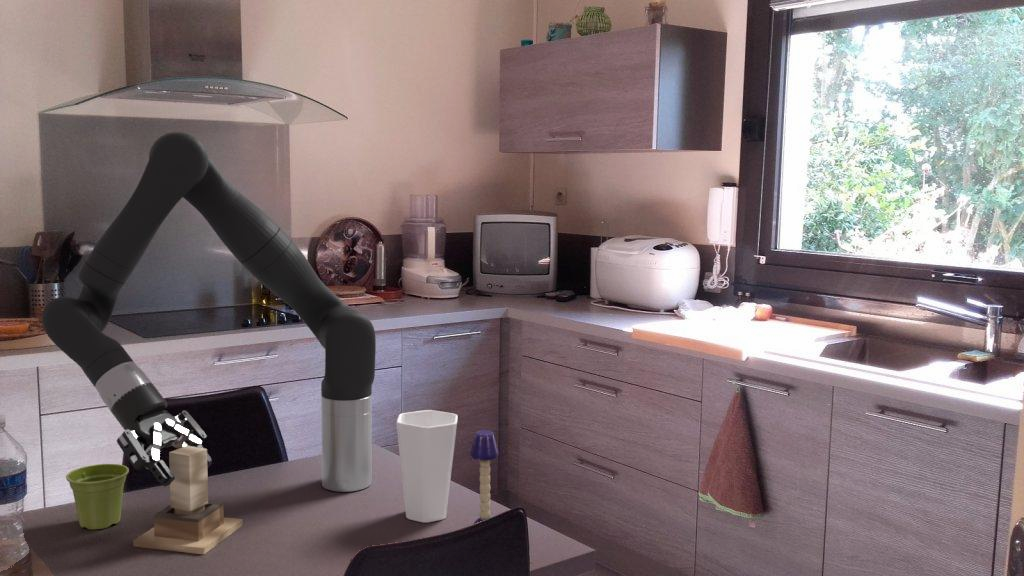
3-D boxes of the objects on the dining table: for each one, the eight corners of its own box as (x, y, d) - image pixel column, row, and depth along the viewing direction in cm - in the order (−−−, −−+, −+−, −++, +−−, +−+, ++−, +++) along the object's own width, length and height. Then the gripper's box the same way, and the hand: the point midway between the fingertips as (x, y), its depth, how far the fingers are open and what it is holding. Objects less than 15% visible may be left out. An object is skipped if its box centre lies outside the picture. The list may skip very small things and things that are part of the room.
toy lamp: (493, 536, 146) (495, 437, 144) (466, 534, 147) (467, 434, 145) (500, 525, 151) (502, 429, 149) (473, 523, 152) (474, 426, 150)
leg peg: (189, 522, 147) (187, 445, 145) (208, 526, 145) (206, 448, 144) (171, 531, 143) (169, 452, 142) (191, 535, 142) (189, 455, 140)
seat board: (177, 518, 151) (176, 492, 151) (242, 525, 149) (242, 498, 148) (133, 546, 140) (132, 518, 139) (204, 554, 137) (203, 526, 137)
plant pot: (65, 537, 143) (63, 484, 142) (70, 516, 151) (68, 466, 150) (129, 530, 146) (128, 478, 145) (131, 510, 155) (129, 461, 154)
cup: (469, 511, 157) (471, 416, 155) (437, 531, 148) (439, 430, 146) (416, 499, 162) (417, 407, 160) (382, 518, 153) (382, 420, 151)
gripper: (108, 391, 138) (170, 474, 135) (175, 373, 151) (232, 448, 148) (83, 421, 140) (143, 503, 138) (151, 400, 154) (207, 475, 151)
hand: (189, 474), depth 143 cm, fingers open, 8 cm apart
